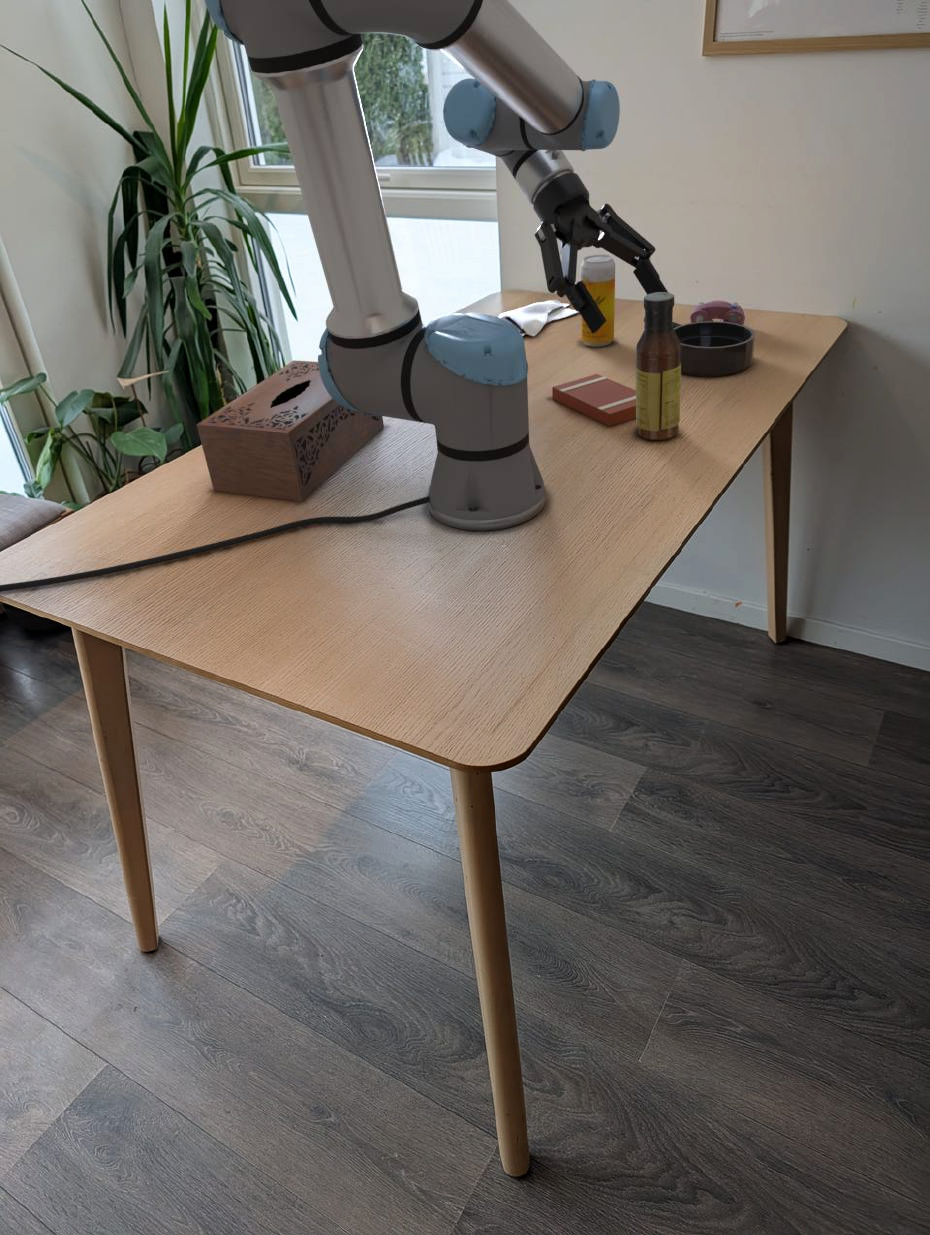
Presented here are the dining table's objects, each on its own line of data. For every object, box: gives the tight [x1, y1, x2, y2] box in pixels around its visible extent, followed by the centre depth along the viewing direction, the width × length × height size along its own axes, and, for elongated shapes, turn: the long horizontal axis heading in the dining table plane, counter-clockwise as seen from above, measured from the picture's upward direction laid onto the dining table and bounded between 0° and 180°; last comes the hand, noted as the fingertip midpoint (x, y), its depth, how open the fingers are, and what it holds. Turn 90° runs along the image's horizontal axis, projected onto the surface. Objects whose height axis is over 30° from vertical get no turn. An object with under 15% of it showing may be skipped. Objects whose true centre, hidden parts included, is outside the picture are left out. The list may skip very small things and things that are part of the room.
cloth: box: [497, 299, 579, 338], centre depth 180 cm, size 26×14×2 cm, turn 141°
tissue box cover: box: [196, 360, 385, 503], centre depth 131 cm, size 26×14×10 cm, turn 158°
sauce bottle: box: [635, 292, 682, 441], centre depth 125 cm, size 7×6×20 cm
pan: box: [674, 320, 756, 377], centre depth 151 cm, size 14×14×5 cm
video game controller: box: [689, 300, 746, 326], centre depth 165 cm, size 10×5×7 cm, turn 73°
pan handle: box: [643, 316, 682, 328], centre depth 159 cm, size 10×2×2 cm, turn 30°
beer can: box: [580, 254, 616, 348], centre depth 162 cm, size 6×6×15 cm
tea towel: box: [551, 373, 636, 427], centre depth 141 cm, size 9×15×2 cm, turn 30°
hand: (632, 315), depth 125 cm, fingers open, 13 cm apart
